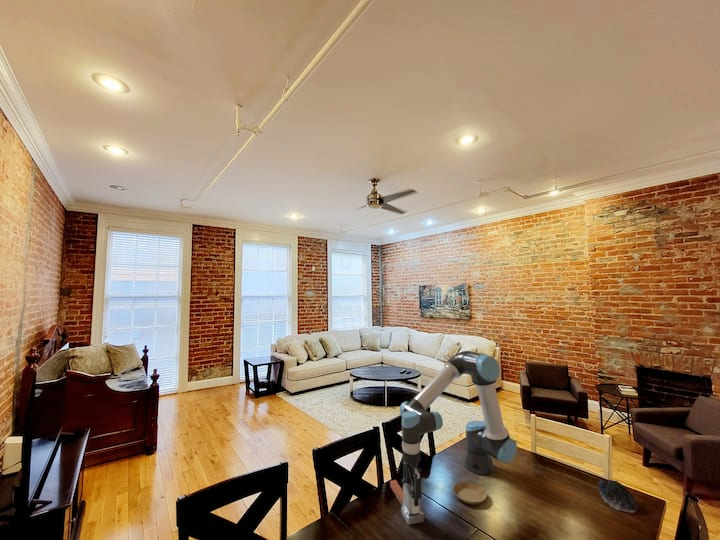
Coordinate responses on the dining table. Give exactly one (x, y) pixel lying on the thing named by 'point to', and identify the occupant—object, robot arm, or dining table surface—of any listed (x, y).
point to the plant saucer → (469, 492)
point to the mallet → (408, 517)
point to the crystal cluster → (617, 496)
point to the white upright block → (409, 497)
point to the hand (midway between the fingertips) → (412, 507)
